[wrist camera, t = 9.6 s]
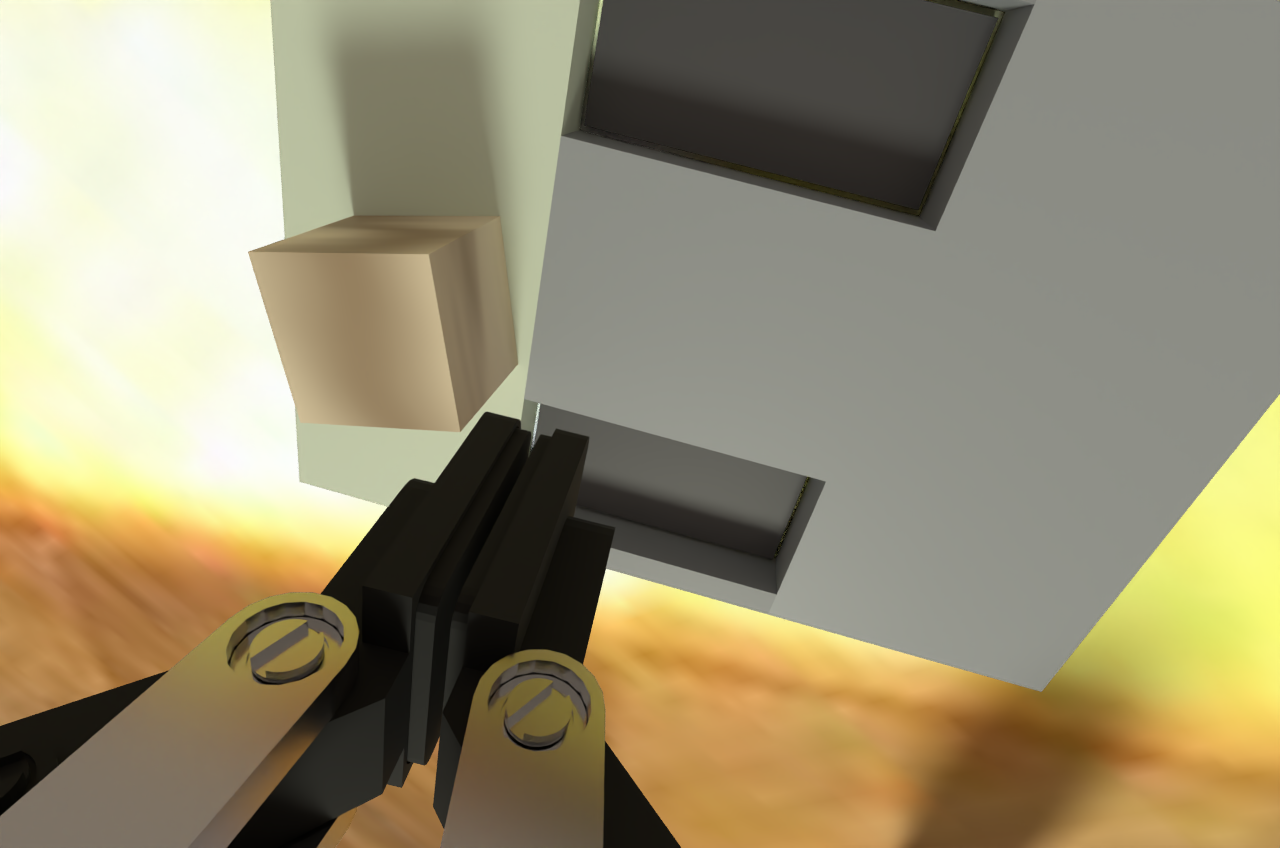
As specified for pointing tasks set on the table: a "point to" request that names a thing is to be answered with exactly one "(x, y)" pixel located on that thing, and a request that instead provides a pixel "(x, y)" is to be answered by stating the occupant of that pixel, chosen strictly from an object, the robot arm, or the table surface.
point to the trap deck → (835, 281)
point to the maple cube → (391, 319)
